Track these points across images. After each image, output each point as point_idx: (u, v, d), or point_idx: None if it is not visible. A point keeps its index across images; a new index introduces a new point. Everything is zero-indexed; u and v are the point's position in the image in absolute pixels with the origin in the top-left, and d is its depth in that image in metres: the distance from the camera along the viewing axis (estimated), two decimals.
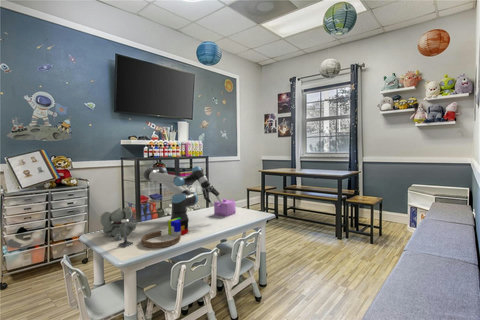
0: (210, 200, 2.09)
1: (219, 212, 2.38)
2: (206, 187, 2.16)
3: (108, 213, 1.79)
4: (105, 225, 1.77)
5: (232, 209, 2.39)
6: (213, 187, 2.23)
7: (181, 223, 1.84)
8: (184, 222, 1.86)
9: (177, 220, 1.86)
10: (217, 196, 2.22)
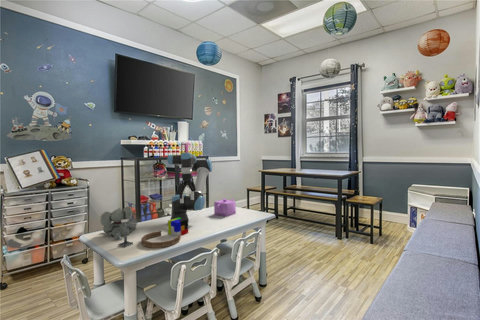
0: (182, 197, 1.90)
1: (219, 212, 2.38)
2: (185, 180, 1.93)
3: (108, 213, 1.80)
4: (105, 225, 1.78)
5: (232, 209, 2.39)
6: (193, 181, 2.01)
7: (181, 223, 1.84)
8: (184, 222, 1.86)
9: (177, 220, 1.86)
10: (192, 192, 2.02)
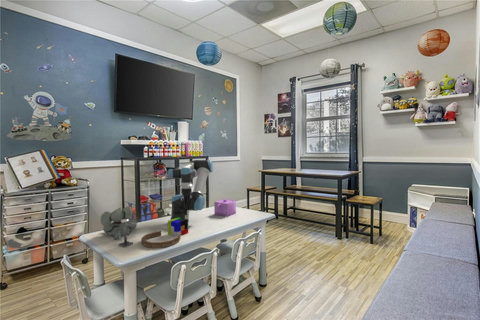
0: (187, 213, 1.95)
1: (219, 212, 2.38)
2: (185, 195, 1.93)
3: (108, 213, 1.80)
4: (105, 225, 1.78)
5: (232, 209, 2.39)
6: (192, 198, 2.00)
7: (181, 223, 1.84)
8: (184, 222, 1.86)
9: (177, 220, 1.86)
10: None
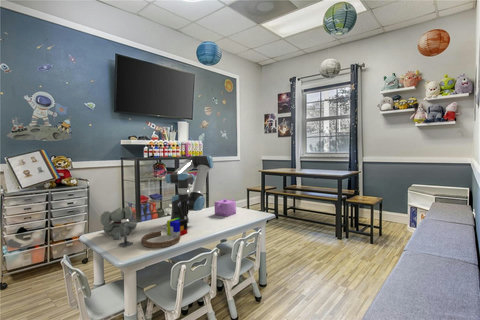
0: None
1: (219, 212, 2.38)
2: (182, 201, 1.90)
3: (108, 213, 1.81)
4: (105, 224, 1.79)
5: (232, 209, 2.39)
6: (189, 204, 1.97)
7: (180, 223, 1.83)
8: (183, 222, 1.85)
9: (176, 220, 1.85)
10: None
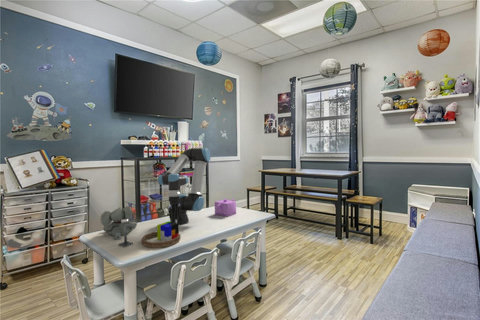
0: None
1: (219, 212, 2.38)
2: (172, 203, 1.81)
3: (108, 212, 1.81)
4: (105, 224, 1.79)
5: (232, 209, 2.39)
6: (180, 206, 1.88)
7: (172, 227, 1.74)
8: (175, 226, 1.76)
9: (167, 224, 1.76)
10: None
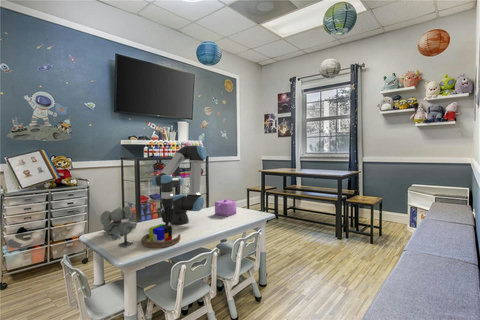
0: None
1: (219, 212, 2.38)
2: (165, 206, 1.74)
3: (108, 212, 1.82)
4: (105, 224, 1.80)
5: (232, 209, 2.38)
6: (174, 209, 1.82)
7: (165, 230, 1.68)
8: (168, 229, 1.70)
9: (160, 227, 1.70)
10: None
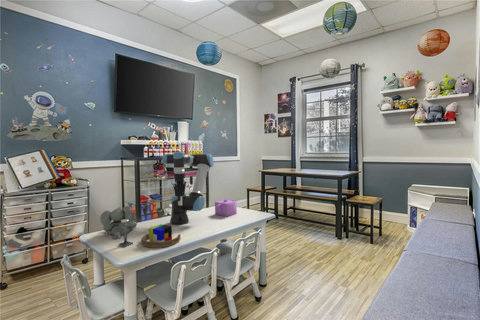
0: (180, 199, 1.88)
1: (220, 212, 2.38)
2: (178, 180, 1.86)
3: (108, 212, 1.83)
4: (105, 224, 1.80)
5: (233, 209, 2.38)
6: (185, 184, 1.93)
7: (165, 230, 1.68)
8: (168, 229, 1.70)
9: (160, 227, 1.70)
10: None
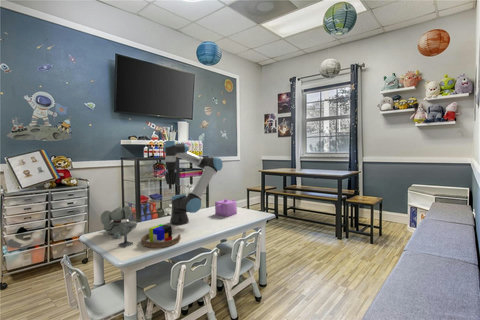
0: (171, 187, 1.92)
1: (220, 212, 2.38)
2: (169, 168, 1.89)
3: (108, 212, 1.83)
4: (105, 223, 1.81)
5: (233, 209, 2.38)
6: (176, 173, 1.96)
7: (165, 230, 1.68)
8: (168, 229, 1.70)
9: (160, 227, 1.70)
10: None
